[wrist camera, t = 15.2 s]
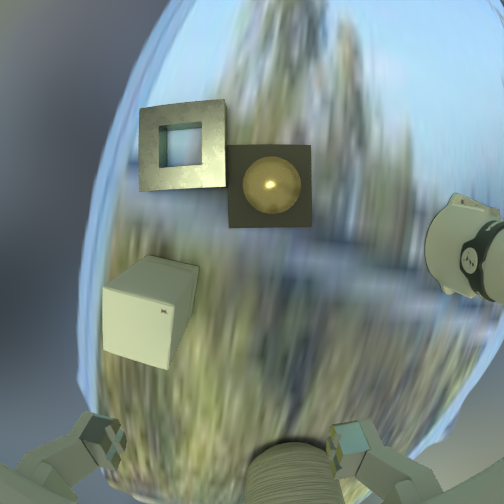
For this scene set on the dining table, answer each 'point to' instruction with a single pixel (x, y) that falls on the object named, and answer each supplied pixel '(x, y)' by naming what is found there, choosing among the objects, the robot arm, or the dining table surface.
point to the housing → (176, 118)
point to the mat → (238, 205)
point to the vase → (292, 476)
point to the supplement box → (149, 310)
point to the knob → (272, 185)
